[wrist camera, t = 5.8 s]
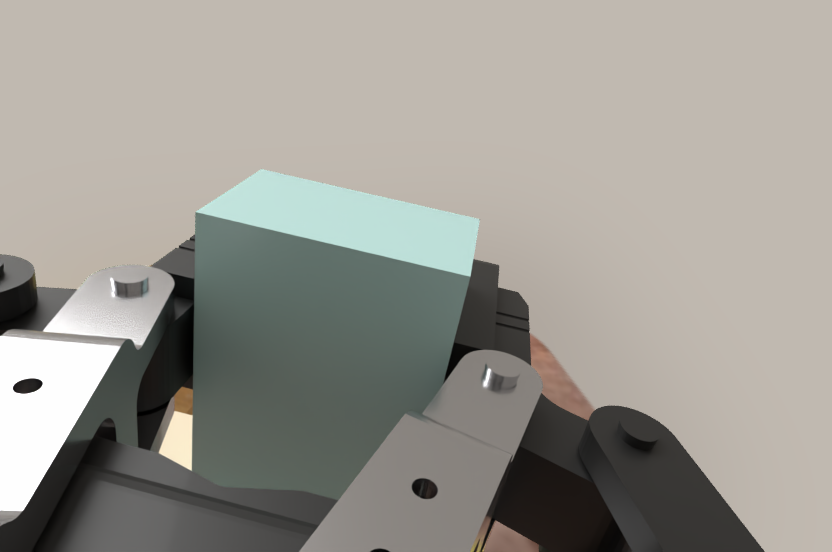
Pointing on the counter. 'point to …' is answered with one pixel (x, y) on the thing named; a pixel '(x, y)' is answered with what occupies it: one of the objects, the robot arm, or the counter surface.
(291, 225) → the tall teal block
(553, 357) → the counter surface
